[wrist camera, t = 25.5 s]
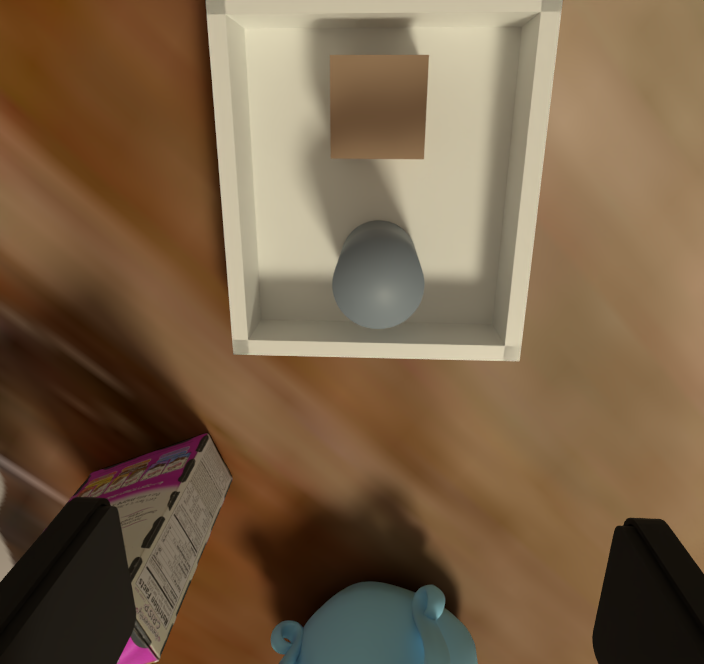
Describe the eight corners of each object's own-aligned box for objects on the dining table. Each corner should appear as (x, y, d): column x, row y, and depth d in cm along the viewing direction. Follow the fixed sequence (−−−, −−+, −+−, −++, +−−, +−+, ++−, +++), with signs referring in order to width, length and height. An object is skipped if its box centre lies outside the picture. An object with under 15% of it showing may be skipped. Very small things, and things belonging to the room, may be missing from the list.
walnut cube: (337, 66, 32) (329, 54, 27) (422, 66, 32) (429, 54, 27) (337, 155, 34) (330, 158, 29) (418, 155, 33) (423, 159, 29)
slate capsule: (340, 219, 35) (332, 238, 28) (418, 220, 35) (427, 240, 28) (340, 293, 37) (332, 328, 30) (414, 295, 36) (421, 330, 30)
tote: (230, 12, 32) (204, -9, 27) (537, 10, 31) (564, -12, 27) (251, 328, 39) (233, 354, 34) (502, 333, 38) (519, 361, 33)
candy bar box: (121, 517, 46) (-11, 712, 30) (91, 470, 44) (-65, 650, 29) (238, 480, 44) (160, 667, 28) (210, 429, 42) (111, 598, 27)
